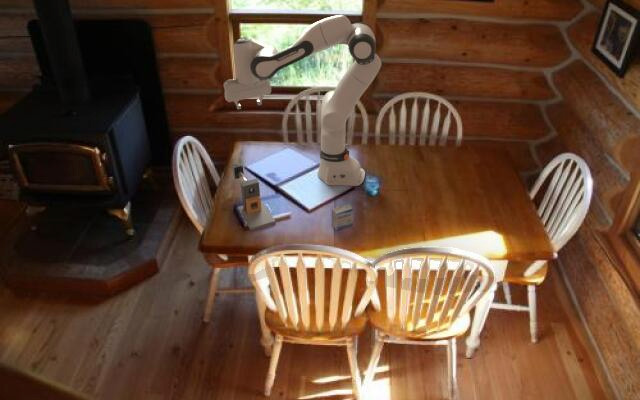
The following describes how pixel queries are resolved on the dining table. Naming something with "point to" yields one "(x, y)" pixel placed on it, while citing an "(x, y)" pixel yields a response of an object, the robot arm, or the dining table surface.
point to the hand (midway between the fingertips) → (249, 106)
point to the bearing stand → (255, 218)
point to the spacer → (253, 200)
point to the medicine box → (341, 216)
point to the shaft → (238, 172)
